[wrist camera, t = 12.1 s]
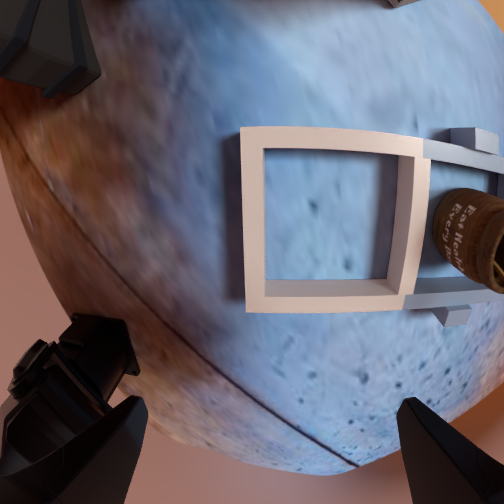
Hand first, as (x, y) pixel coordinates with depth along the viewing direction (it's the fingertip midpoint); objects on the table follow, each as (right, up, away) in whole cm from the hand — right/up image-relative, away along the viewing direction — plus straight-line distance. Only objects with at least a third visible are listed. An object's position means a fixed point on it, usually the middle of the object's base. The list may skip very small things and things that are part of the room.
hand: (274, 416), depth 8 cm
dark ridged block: (-16, +24, +6) cm, 29 cm away
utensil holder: (+15, +7, +10) cm, 19 cm away
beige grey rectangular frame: (+10, +8, +10) cm, 16 cm away
